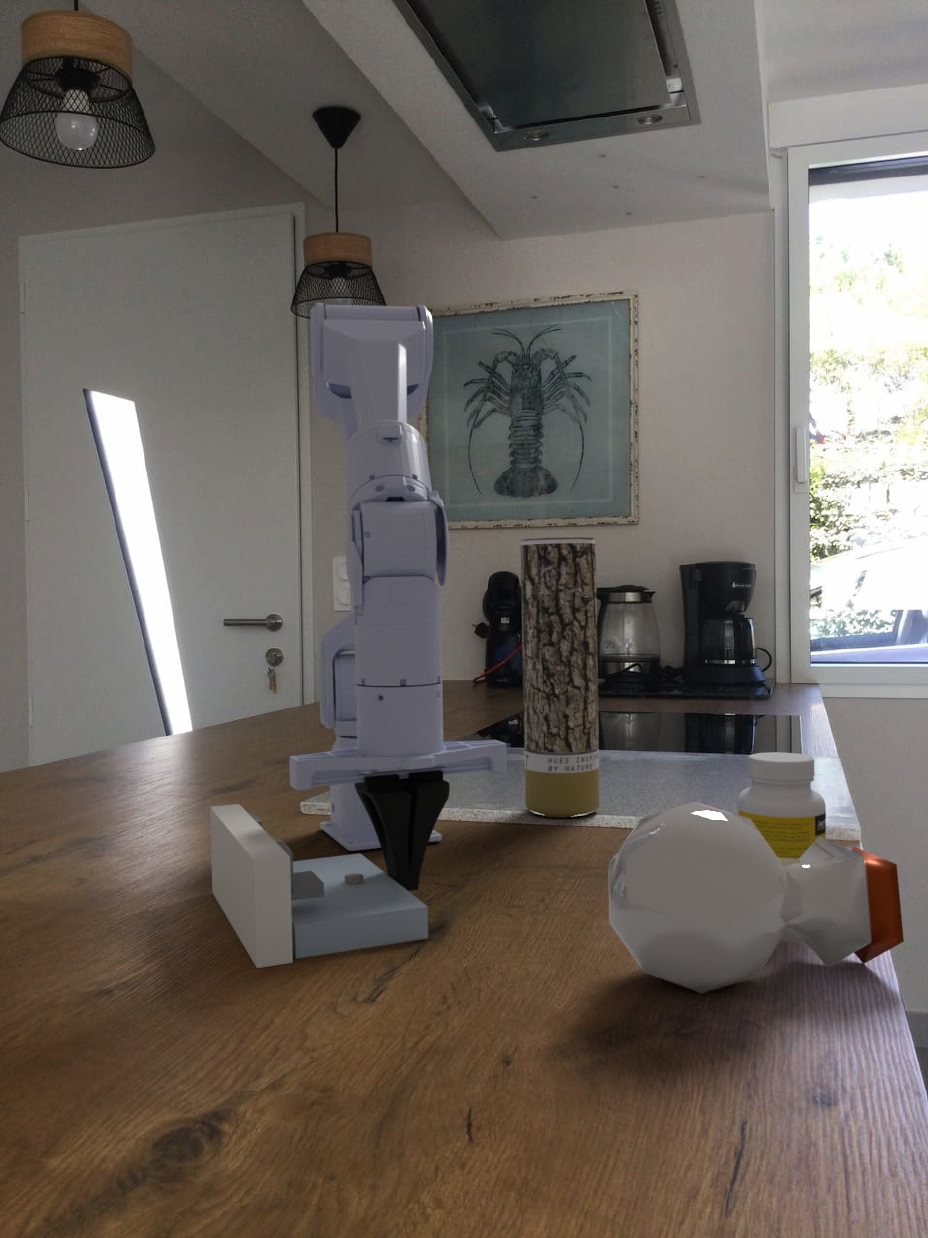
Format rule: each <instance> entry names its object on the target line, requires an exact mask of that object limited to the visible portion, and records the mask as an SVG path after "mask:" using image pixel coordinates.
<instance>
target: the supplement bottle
mask: <svg viewBox="0 0 928 1238" xmlns="http://www.w3.org/2000/svg"><path fill="white" fill-rule="evenodd" d="M747 764H748V765H747V767H748V778H749V780H751V785H750V787H747V788H744V789H743V790H742V791H741V792H740V793H739V794H738V797H737V801H736V802H737V805H736V806H737V807H736V810H737V811H736V812H737V814H736V815H740V816H743V817H746V818H749V819H751V821H752V822H753V823H754V825H755V826H756V828H757V829H758V830H759V832H760V833H761V835H762V836H763V837H764V839H765V840H766V841H767V843H768V844H769V846H770V847H771V849H772V850H773V852H774V853H775V854H776V856H777V857H778V858H800V857H801V856H802V855H803V854H804V853H805V851H806V850H807V849H808V848H809V847H810V846H811V845H812V843H813V842H814V841H815V840H816V839H817V838H818V837H822V838H824V839H826V840H827V838H826V837H827V832H826V831H827V828H826V827H827V825H826V823H827V820H826V819H827V815H826V814H827V811H826V809H827V808H826V807H827V806H826V802H825V799H824V797H823V796H822V795H821V794H820V793H819V792H817V791H816V790H814V789H812V787H811V783H812V782H814V781H815V778H814V777H815V759H814V757H812V756H810V755H807V754H803V753H794V752H779V751H777V752H776V751H773V752H758V753H753V754H750V755H748V762H747Z"/></svg>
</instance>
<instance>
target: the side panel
mask: <svg viewBox="0 0 928 1238" xmlns="http://www.w3.org/2000/svg"><path fill="white" fill-rule="evenodd" d="M209 814H210V815H209V817H210V818H209V819H210V820H209V822H210V824H209V825H210V849H211V850H210V851H211V852H210V854H211V855H210V856H211V858H210V859H211V887H212V889H211V890H212V891H211V892H212V894H213V896H214V898H215V900H216V902H217V903H218V905H219V906H220V909H221V910H222V911H223V913H224V915H225V917H226V919H227V920H228V921H229V923H230V925H231V927H232V928H233V930H234V932H235V933H236V935H237V937H238V939H239V940H240V942H241V944H242V946H243V947H244V948H245V950H246V952H247V954H248V955H249V957H250V959H251V961H252V962H253V964H254V966H255V967H256V968H257V969H261V968H262V969H263V968H268V967H273V966H274V967H275V966H282V965H287V964H293V958H294V957H293V956H294V955H293V954H292V914H291V901H294V900H302V899H310V898H317V897H324V883H323V882H322V881H321V880H320V879H319V878H318V877H317V876H316V875H315V874H314V873H313V872H312V871H304V872H296V873H293V861H294V857H293V855H294V853H293V851H292V850H291V849H290V848H289V846H288V845H287V844H285V842H284V841H283V840H282V839H281V838H277V839H274V838H273V837H272V836H271V835H270V834H269V833H268V832H267V831H266V830H265V829H264V828H263V821H262V820H261V819H260V818H259V817H258V816H257V815H256V814H255V813H254V812H248V811H246V809H244V807H243V806H242V805H241V804H239V803H235V804H234V803H233V804H227V805H225V804H223V805H214V806H209Z"/></svg>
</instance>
